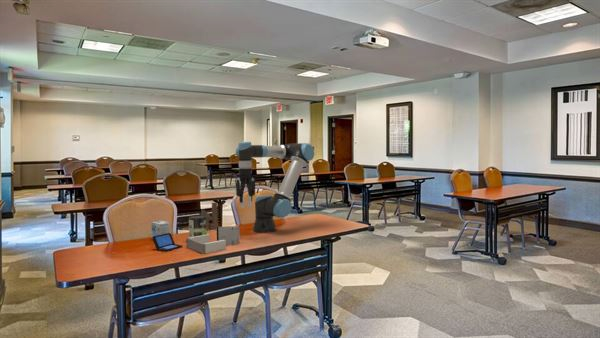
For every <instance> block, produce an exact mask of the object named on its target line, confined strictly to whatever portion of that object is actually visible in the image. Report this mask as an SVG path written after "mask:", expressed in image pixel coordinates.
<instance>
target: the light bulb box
mask: <svg viewBox="0 0 600 338" xmlns="http://www.w3.org/2000/svg"><path fill="white" fill-rule="evenodd" d="M170 226H171V225H170V222H169V221H165V220H157V221H151V238H152V237H153V236H157V235H162V234H166V233H170V234H171V229H170Z"/></svg>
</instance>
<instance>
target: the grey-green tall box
mask: <svg viewBox="0 0 600 338" xmlns="http://www.w3.org/2000/svg"><path fill="white" fill-rule="evenodd" d="M188 230H189V231H188V234H189V235H188V238H189V237H195V236H201V235H207V234H208V233H207V231H208V230H207V231H206V216H202V214H201V215H190V216H189V217H188Z"/></svg>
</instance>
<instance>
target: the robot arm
mask: <svg viewBox="0 0 600 338" xmlns="http://www.w3.org/2000/svg"><path fill="white" fill-rule="evenodd" d="M235 154H236V156H237V157H238V168H239V169H238V177H237V178H235V179H234V183H235V193H236V194H235V195H236V196H237V197H239V202H240V208H241V209H245V197H244V192H245V188H246V189H247V193H248V196H247V208H252V202H253V196H255V195H256V181H257V178H255V177H253V175H252V174H253V169H252V162H253V161H252V159H253V158H279V159H282V160H290V161H291V162H290V164H289V166H288V168H287V171H286V173H285V175H284V178H283V179H282V182H281V184H280V187H279V188H278V191H277V192H275V193H274V194H273V195H272V194H271V195H270V194H269V195H261V196H256V197H255V199H254V210H255V212H254V214H255V215H254V216H255V218H254V219H255V220H254V223H253V226H252V231H253V232H255V233H272V232H276V231H277V226H276V223H275V219H274V217H275V218H285V217H288V216H289V215H290V213H291V212H292V208H293V207H292V199H291V195H292V193H293V191H294V189H295V187H296V184H297V182H298V180H299V177H300V175H301V172H302V171H303V167H304V166H307V165H308V162H310V161H312V160H313V159H314V157H315V150H314V147H313V146H312V144H310V143H308V142H303V143H301V142H300V143H287V144H279V145H264V144H263V145H262V144H252V142H251V141H239V142H238V146H237V147H236V149H235ZM245 186H246V187H245Z"/></svg>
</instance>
